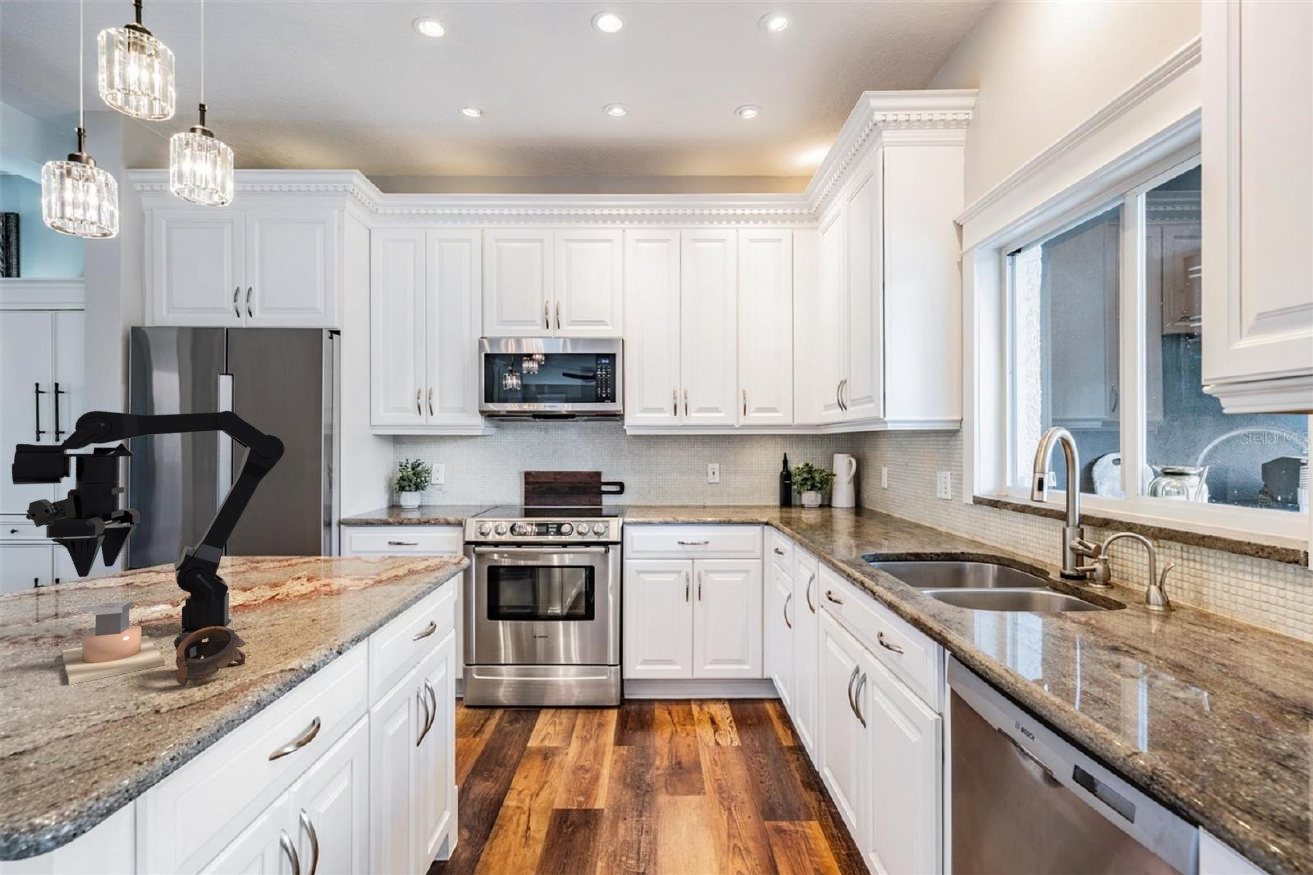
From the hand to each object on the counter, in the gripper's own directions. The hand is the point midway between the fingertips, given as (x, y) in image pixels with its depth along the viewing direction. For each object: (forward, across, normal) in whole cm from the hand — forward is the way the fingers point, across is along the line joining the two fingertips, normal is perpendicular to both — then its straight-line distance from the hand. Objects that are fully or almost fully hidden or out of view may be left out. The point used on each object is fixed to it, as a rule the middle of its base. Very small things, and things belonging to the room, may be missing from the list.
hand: (96, 571), depth 106 cm
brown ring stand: (+13, +22, +22) cm, 34 cm away
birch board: (+13, +10, +6) cm, 17 cm away
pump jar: (+13, +10, +6) cm, 17 cm away
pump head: (+8, +10, +5) cm, 14 cm away
